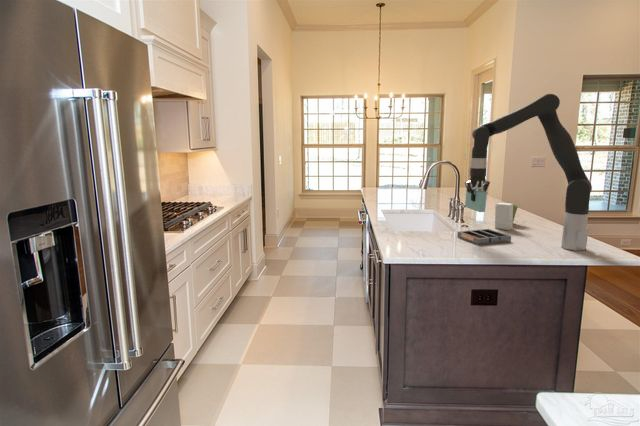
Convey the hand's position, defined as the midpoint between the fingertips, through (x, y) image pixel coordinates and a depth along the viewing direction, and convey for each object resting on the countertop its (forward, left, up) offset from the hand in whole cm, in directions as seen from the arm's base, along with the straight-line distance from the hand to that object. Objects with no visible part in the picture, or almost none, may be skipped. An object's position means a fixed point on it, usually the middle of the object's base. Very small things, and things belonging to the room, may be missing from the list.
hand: (476, 200), depth 200 cm
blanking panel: (+1, 0, -4) cm, 5 cm away
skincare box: (+17, -33, -21) cm, 43 cm away
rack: (0, -6, -21) cm, 22 cm away
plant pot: (+28, -45, -21) cm, 57 cm away
